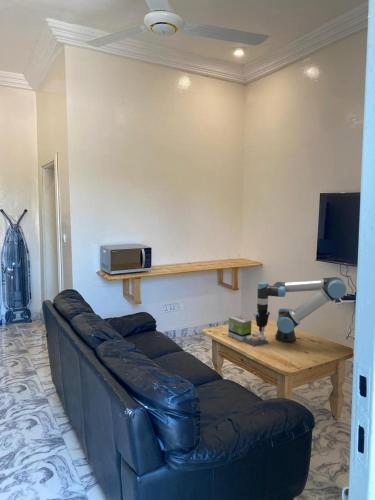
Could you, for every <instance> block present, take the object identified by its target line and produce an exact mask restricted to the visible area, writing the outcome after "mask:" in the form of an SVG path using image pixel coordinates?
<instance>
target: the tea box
mask: <svg viewBox="0 0 375 500" xmlns="http://www.w3.org/2000/svg"><path fill="white" fill-rule="evenodd" d="M227 329H228V337H231V338H234V339H235V340H237V341H240V342H243V339H245V338H246V336H252V320H251V319H248V318H245V317H244V316H239V315H235V316H230V317H228V328H227Z"/></svg>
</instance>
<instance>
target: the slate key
mask: <svg viewBox="0 0 375 500" xmlns="http://www.w3.org/2000/svg"><path fill="white" fill-rule="evenodd" d="M259 335H260V333H258V332H255V333H251V336H253V337H255V336H256V337H257V336H259Z"/></svg>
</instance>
